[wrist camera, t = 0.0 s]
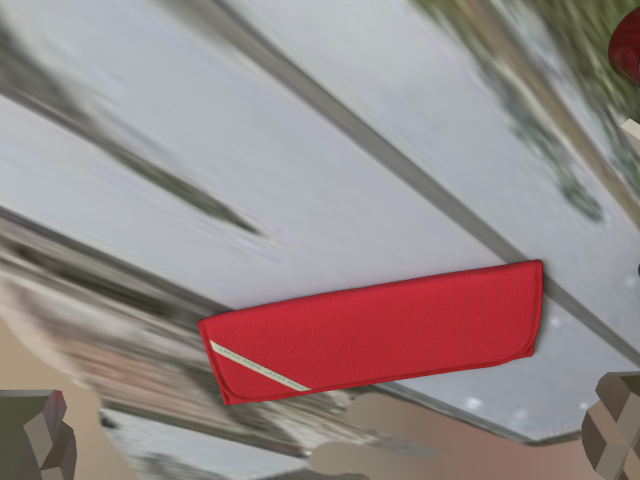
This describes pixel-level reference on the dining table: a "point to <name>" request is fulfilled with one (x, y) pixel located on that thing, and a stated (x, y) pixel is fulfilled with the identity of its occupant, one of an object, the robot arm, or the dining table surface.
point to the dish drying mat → (376, 333)
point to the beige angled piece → (632, 133)
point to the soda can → (626, 48)
